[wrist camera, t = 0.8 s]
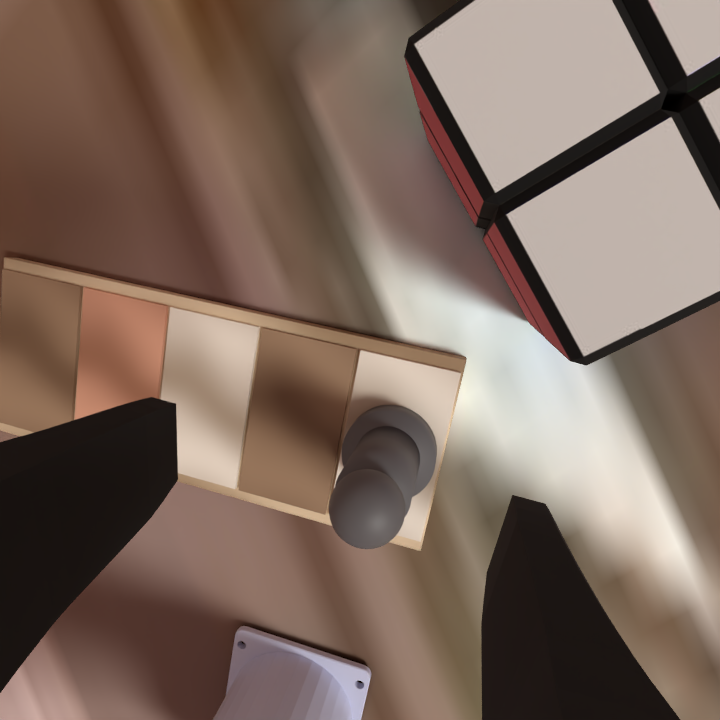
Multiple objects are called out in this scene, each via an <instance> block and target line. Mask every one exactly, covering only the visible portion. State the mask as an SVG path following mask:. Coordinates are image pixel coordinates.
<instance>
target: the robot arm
mask: <svg viewBox="0 0 720 720" xmlns="http://www.w3.org/2000/svg"><path fill="white" fill-rule="evenodd" d="M177 480H178V457H177V416H176V403H172V402H168V401H165V400H161V399H157V398H154V397H149V398H145V399H141V400H137V401H133V402H130V403H126V404H123V405H120V406H116V407H113V408H110V409H107V410H104V411H101V412H98V413H95V414H91V415H88V416H85V417H82V418H79V419H76V420H73V421H70V422H67V423H63V424H60V425H57V426H54V427H51V428H48V429H45V430H41V431H38V432H34V433H31V434H27V435H24V436H20V437H17V438H14V439H10V440H7V441H3V442H0V693H1V691H2V690H3V689H4V687H5V686H6V684H7V683H8V682H9V680H10V679H11V678H12V676H13V675H14V674H15V672H16V671H17V670H18V668H19V667H20V666H21V664H22V663H23V662H24V661H25V659H26V658H27V657H28V656H29V654H30V653H31V652H32V650H33V649H34V648H35V647H36V645H37V644H38V643H39V641H40V640H41V639H42V638H43V636H44V635H45V634H46V632H47V631H48V630H49V629H50V627H51V626H52V625H53V624H54V622H55V621H56V620H57V619H58V618H59V617H60V615H61V614H62V613H63V612H64V611H65V610H66V609H67V607H68V606H69V605H70V604H71V603H72V602H73V601H74V600H75V599H76V597H77V596H78V595H79V594H80V593H81V592H82V591H83V590H84V589H85V588H86V587H87V586H88V585H89V584H90V583H91V582H92V580H93V579H94V578H95V577H96V576H97V575H98V574H99V573H100V572H101V571H102V570H103V569H104V568H105V567H106V566H107V565H108V563H109V562H110V561H111V560H112V559H113V558H114V557H115V556H116V555H117V554H118V553H119V552H120V551H121V550H122V549H123V548H124V546H125V545H126V544H127V543H128V542H129V541H130V540H131V539H132V538H133V537H134V536H135V535H136V533H137V532H138V531H139V530H140V529H141V528H142V527H143V526H144V525H145V524H146V522H147V521H148V520H149V519H150V518H151V517H152V515H153V514H154V513H155V511H156V510H157V509H158V507H159V506H160V505H161V503H162V502H163V501H164V499H165V498H166V496H167V495H168V493H169V492H170V490H171V489H172V488H173V486H174V485H175V483H176V482H177ZM241 641H243V642H244V643H245V644H243V643H242V642H241ZM370 678H371V671H370V669H369V668H368V667H367V666H365V665H363V664H360V663H357V662H354V661H351V660H348V659H344V658H341V657H338V656H335V655H332V654H329V653H326V652H323V651H320V650H317V649H314V648H311V647H308V646H305V645H302V644H299V643H296V642H293V641H290V640H287V639H284V638H281V637H278V636H275V635H272V634H269V633H265V632H262V631H259V630H256V629H253V628H250V627H247V626H241V627H240V628H238V630H237V632H236V634H235V639H234V645H233V652H232V658H231V664H230V671H229V677H228V684H227V690H226V696H225V698H224V700H223V702H222V704H221V706H220V707H219V709H218V711H217V713H216V715H215V716H214V718H213V720H361V717H362V713H363V708H364V704H365V700H366V695H367V691H368V687H369V682H370ZM358 681H362V682H363V683H359V682H358ZM482 720H680V719H679V717H678V716H677V715H676V713H675V712H674V711H673V709H672V708H671V707H670V705H669V704H668V703H667V701H666V700H665V699H664V697H663V696H662V695H661V693H660V692H659V691H658V689H657V688H656V687H655V686H654V684H653V683H652V682H651V680H650V679H649V677H648V676H647V675H646V673H645V672H644V670H643V669H642V668H641V666H640V665H639V663H638V662H637V660H636V659H635V657H634V656H633V655H632V653H631V651H630V650H629V648H628V647H627V645H626V644H625V642H624V641H623V639H622V638H621V636H620V635H619V633H618V632H617V630H616V628H615V627H614V625H613V624H612V622H611V620H610V619H609V617H608V616H607V614H606V612H605V611H604V609H603V608H602V606H601V604H600V602H599V601H598V599H597V597H596V596H595V594H594V592H593V590H592V589H591V587H590V585H589V584H588V582H587V580H586V579H585V577H584V575H583V573H582V571H581V570H580V568H579V566H578V564H577V562H576V561H575V559H574V557H573V555H572V553H571V551H570V549H569V548H568V546H567V544H566V542H565V540H564V538H563V536H562V534H561V532H560V530H559V528H558V526H557V524H556V522H555V520H554V519H553V517H552V515H551V513H550V511H549V509H548V507H547V506H546V504H544V503H540V502H537V501H533V500H529V499H525V498H522V497H518V496H514V495H512V498H511V501H510V504H509V507H508V510H507V513H506V516H505V519H504V522H503V525H502V528H501V531H500V534H499V538H498V541H497V544H496V547H495V550H494V553H493V556H492V559H491V562H490V565H489V568H488V571H487V576H486V585H485V594H484V604H483V614H482Z"/></svg>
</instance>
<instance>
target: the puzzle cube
mask: <svg viewBox="0 0 720 720" xmlns="http://www.w3.org/2000/svg"><path fill="white" fill-rule="evenodd" d="M404 57H405V61H406V65H407V68H408V72H409V75H410V79H411V83H412V86H413V90H414V93H415V97H416V101H417V104H418V107H419V109H420V115H421V119H422V122H423V125H424V129H425V132H426V136H427V139H428V142H429V143H430V145H431V147H432V149H433V151H434V152H435V154H436V156H437V158H438V160H439V161H440V163H441V165H442V167H443V169H444V170H445V172H446V174H447V176H448V178H449V179H450V181H451V183H452V185H453V187H454V188H455V190H456V192H457V194H458V196H459V197H460V199H461V201H462V203H463V205H464V206H465V208H466V210H467V212H468V214H469V215H470V217H471V219H472V221H473V223H474V224H475V226H476V227H479V228H483V229H486V230H485V233H484V237H483V241H484V242H485V244H486V246H487V248H488V250H489V251H490V253H491V255H492V257H493V259H494V260H495V262H496V264H497V266H498V268H499V270H500V271H501V273H502V275H503V277H504V279H505V280H506V282H507V284H508V286H509V288H510V289H511V291H512V293H513V295H514V297H515V298H516V300H517V302H518V304H519V306H520V307H521V309H522V311H523V313H524V315H525V316H526V318H527V320H528V322H529V323H530V324H531V325H532V326H533V327H534V328H535V329H536V330H537V331H538V332H539V333H541V334H542V335H543V336H544V337H545V338H546V339H547V340H548V341H549V342H550V343H551V344H552V345H553V346H554V347H555V348H556V349H558V350H559V351H560V352H561V353H562V354H563V355H564V356H565V357H566V358H567V359H568V360H570V361H572V362H576V363H579V364H583V365H588V364H590V363H592V362H595V361H597V360H599V359H601V358H603V357H605V356H607V355H609V354H611V353H613V352H615V351H617V350H619V349H621V348H623V347H625V346H628V345H630V344H632V343H634V342H636V341H638V340H640V339H642V338H644V337H646V336H648V335H650V334H652V333H654V332H656V331H658V330H661V329H663V328H665V327H667V326H669V325H671V324H673V323H675V322H677V321H679V320H681V319H683V318H685V317H687V316H689V315H691V314H694V313H696V312H698V311H700V310H702V309H704V308H706V307H708V306H710V305H712V304H714V303H716V302H718V301H720V0H460V1H459V2H457V3H456V4H455V5H453V6H452V7H451V8H449V9H448V10H446V11H445V12H444V13H442V14H441V15H440V16H438V17H437V18H436V19H434V20H433V21H431V22H430V23H429V24H427V25H426V26H425V27H423V28H422V29H420V30H419V31H418V32H416V33H415V34H414V35H412V36H411V37H409V39H408V43H407V47H406V51H405V55H404Z"/></svg>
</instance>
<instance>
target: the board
mask: <svg viewBox="0 0 720 720" xmlns="http://www.w3.org/2000/svg"><path fill="white" fill-rule="evenodd" d="M465 364H466V357H463V356H458V355H453V354H449V353H444V352H440V351H435V350H431V349H426V348H422V347H417V346H413V345H408V344H404V343H399V342H395V341H390V340H386V339H381V338H377V337H372V336H368V335H363V334H359V333H354V332H350V331H345V330H341V329H336V328H332V327H327V326H323V325H318V324H314V323H309V322H305V321H300V320H296V319H291V318H287V317H282V316H278V315H273V314H269V313H264V312H260V311H255V310H251V309H246V308H242V307H237V306H233V305H228V304H224V303H219V302H214V301H210V300H205V299H201V298H196V297H192V296H187V295H183V294H178V293H174V292H169V291H165V290H160V289H156V288H151V287H147V286H142V285H138V284H133V283H129V282H124V281H120V280H115V279H111V278H106V277H102V276H97V275H93V274H88V273H84V272H79V271H75V270H70V269H66V268H61V267H57V266H52V265H48V264H43V263H39V262H34V261H30V260H25V259H21V258H9V257H4V269H2V284H1V315H0V431H4V432H7V433H11V434H14V435H18V436H24V435H27V434H31V433H34V432H38V431H41V430H45V429H48V428H51V427H54V426H57V425H60V424H63V423H67V422H70V421H73V420H76V419H79V418H82V417H85V416H88V415H91V414H95V413H98V412H101V411H104V410H107V409H110V408H113V407H116V406H120V405H123V404H126V403H130V402H133V401H137V400H141V399H145V398H149V397H154V398H157V399H161V400H165V401H168V402H172V403H176V416H177V457H178V480H177V481H178V482H182V483H185V484H189V485H192V486H196V487H199V488H203V489H206V490H210V491H213V492H217V493H220V494H224V495H227V496H231V497H234V498H238V499H241V500H245V501H248V502H251V503H255V504H258V505H262V506H265V507H269V508H272V509H276V510H279V511H283V512H286V513H290V514H293V515H297V516H300V517H304V518H307V519H311V520H314V521H318V522H321V523H325V524H328V525H332V524H331V521H330V516H329V501H330V497H331V494H332V492H333V490H334V488H335V484H336V481H337V478H338V476H339V474H340V473H341V471H342V469H343V468H344V467H343V463H342V444H343V441H344V438H345V436H346V434H347V432H348V430H349V429H350V427H351V426H352V425H353V423H354V422H355V421H356V419H357V418H358V417H359V416H360V415H361V414H363V413H364V412H365V411H367V410H369V409H371V408H373V407H376V406H380V405H399V406H403V407H406V408H408V409H410V410H412V411H414V412H416V413H417V414H419V415H420V416H421V417H422V418H423V419H424V420H425V421H426V422H427V423H428V425H429V426H430V428H431V429H432V431H433V434H434V436H435V439H436V444H437V457H436V464H435V470H434V473H433V476H432V478H431V480H430V482H429V483H428V485H427V486H426V487H425V488H424V489H423V490H422V491H421V492H420V493H418V494H417V495H415V496H414V497H412V500H411V505H410V508H409V511H408V513H407V515H406V516H405V518H404V522H403V525H402V527H401V529H400V531H399V532H398V534H397V535H396V536H395V537H394V538H393V539H392V540H391V541H390V542H391V543H394V544H398V545H401V546H405V547H408V548H412V549H415V550H419V551H421V547H422V543H423V538H424V534H425V530H426V526H427V522H428V518H429V513H430V509H431V505H432V501H433V497H434V493H435V488H436V484H437V480H438V476H439V472H440V468H441V464H442V459H443V455H444V451H445V447H446V443H447V439H448V434H449V430H450V426H451V422H452V418H453V414H454V410H455V405H456V401H457V397H458V393H459V389H460V385H461V380H462V376H463V372H464V368H465Z"/></svg>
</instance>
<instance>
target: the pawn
mask: <svg viewBox="0 0 720 720" xmlns="http://www.w3.org/2000/svg"><path fill="white" fill-rule="evenodd" d="M436 457H437V444H436V439H435V436H434V434H433V431H432V429H431V428H430V426H429V425H428V423H427V422H426V421H425V420H424V419H423V418H422V417H421V416H420V415H419V414H417V413H416V412H414V411H412V410H410V409H408V408H406V407H403V406H399V405H380V406H376V407H373V408H371V409H369V410H367V411H365V412H364V413H363V414H361V415H360V416H359V417H358V418H357V419H356V421H355V422H354V423H353V425H352V426H351V427H350V429H349V430H348V432H347V434H346V436H345V438H344V441H343V444H342V463H343V467H344V468H343V469H342V471H341V473H340V474H339V476H338V478H337V481H336V484H335V488H334V490H333V492H332V494H331V497H330V501H329V516H330V521H331V524H332V526H333V528H334V530H335V532H336V533H337V534H338V536H339V537H340V538H341V539H342V540H344V541H345V542H346V543H348V544H350V545H352V546H354V547H357V548H361V549H373V548H377V547H381V546H383V545H385V544H387V543H388V542H390V541H391V540H392V539H393V538H394V537H395V536H396V535H397V534H398V532H399V531H400V529H401V527H402V525H403V522H404V518H405V516H406V515H407V513H408V511H409V508H410V505H411V500H412V497H414V496H415V495H417V494H418V493H420V492H421V491H422V490H423V489H424V488H425V487H426V486H427V485H428V483H429V482H430V480H431V478H432V476H433V473H434V470H435V464H436Z"/></svg>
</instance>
